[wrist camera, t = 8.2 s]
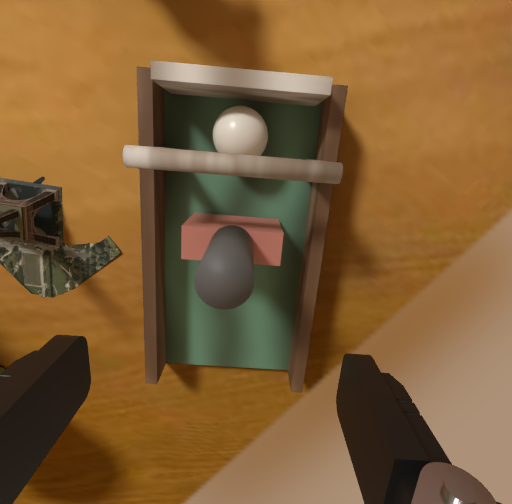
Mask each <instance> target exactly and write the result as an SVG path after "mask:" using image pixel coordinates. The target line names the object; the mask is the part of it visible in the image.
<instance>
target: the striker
mask: <svg viewBox="0 0 512 504" xmlns="http://www.w3.org/2000/svg"><path fill="white" fill-rule="evenodd" d="M283 235H284V233H283V230H282V228H281V225H280V223H279V220H278V219H273V218H260V217H247V216H233V215H220V214H207V213H193V214H192V215H191V216H190V217H189V219H188V220H187V221H186V222H185V223H184V224H183V225H182V231H181V259H188V260H201V262H200V264H199V266H198V268H197V270H196V273H195V276H194V286H195V290H196V292H197V294H198V296H199V297H200V299H201V300H202V301H203V302H204V303H206V304H207V305H209V306H211V307H213V308H216V309H222V310H227V309H233V308H236V307H238V306H240V305H242V304H243V303H244V302H246V301H247V299H248V298H249V297H250V295H251V293H252V291H253V287H254V264H259V265H273V266H280V263H281V253H282V244H283Z"/></svg>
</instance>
